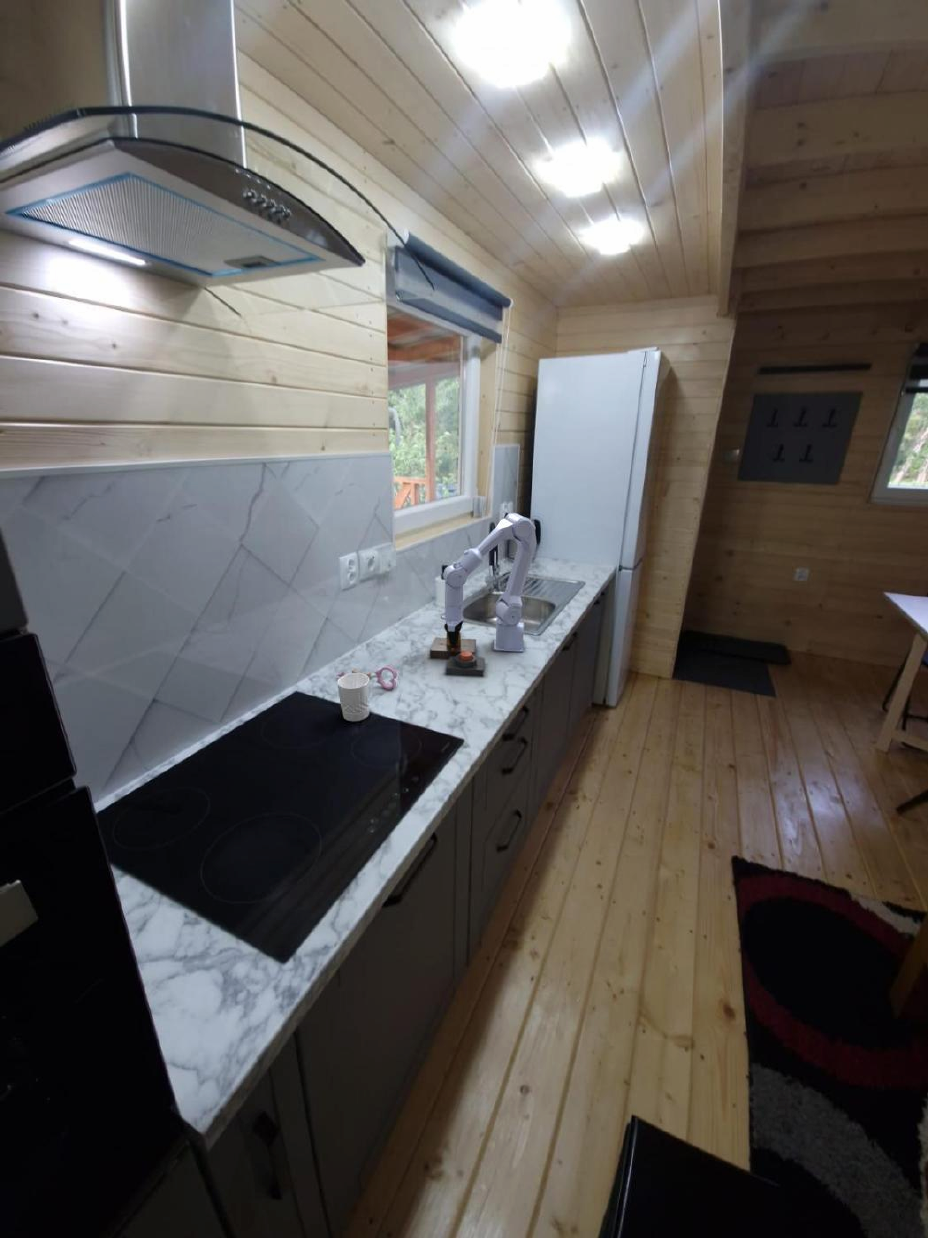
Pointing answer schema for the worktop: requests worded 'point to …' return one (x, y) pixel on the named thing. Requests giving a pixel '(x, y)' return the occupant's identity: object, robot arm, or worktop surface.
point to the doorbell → (465, 666)
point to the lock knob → (457, 641)
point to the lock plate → (450, 648)
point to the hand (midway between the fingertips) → (453, 643)
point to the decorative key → (378, 676)
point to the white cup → (354, 696)
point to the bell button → (466, 656)
